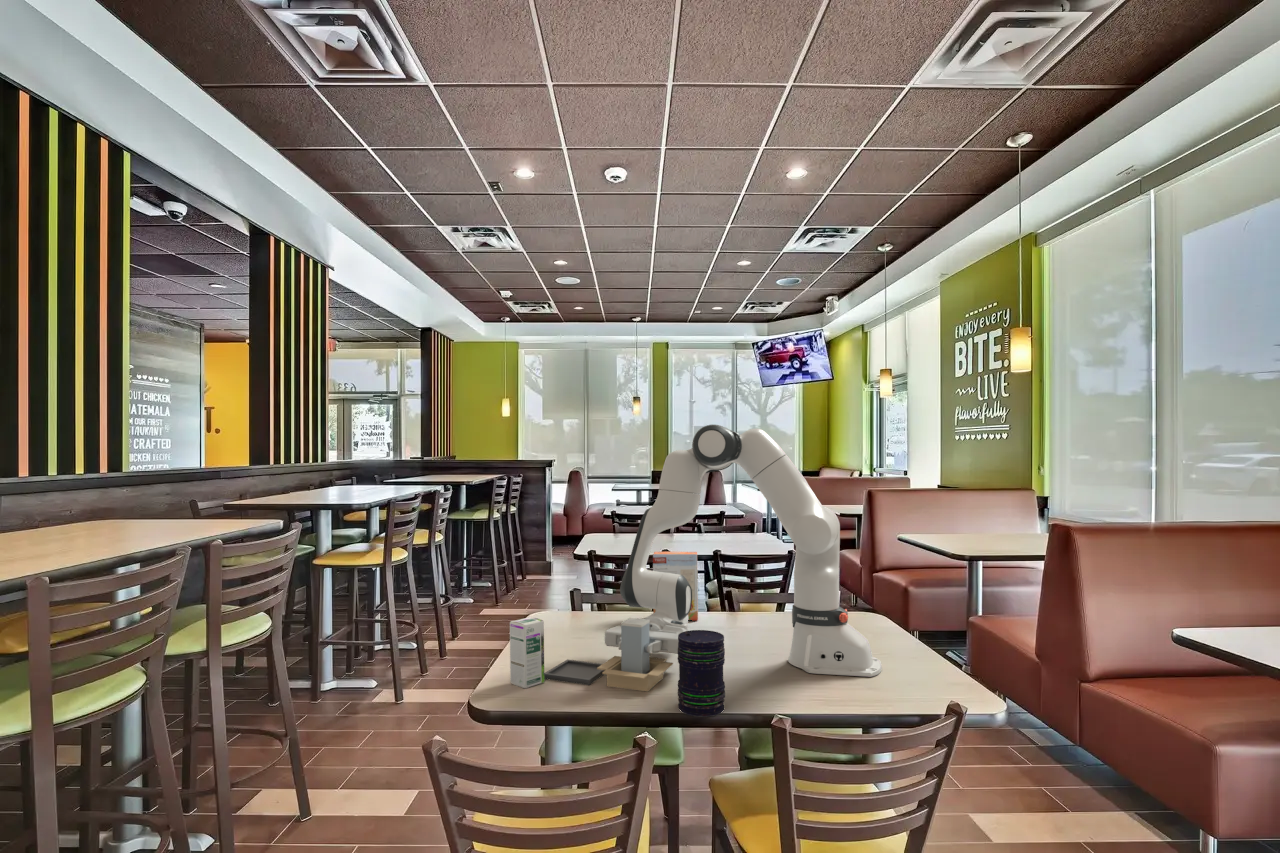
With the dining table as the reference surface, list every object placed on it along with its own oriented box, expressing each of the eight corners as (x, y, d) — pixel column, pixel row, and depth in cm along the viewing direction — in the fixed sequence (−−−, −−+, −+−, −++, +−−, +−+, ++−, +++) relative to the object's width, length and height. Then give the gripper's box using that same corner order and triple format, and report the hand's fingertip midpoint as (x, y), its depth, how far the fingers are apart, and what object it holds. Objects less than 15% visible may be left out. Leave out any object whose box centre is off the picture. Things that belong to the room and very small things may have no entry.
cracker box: (698, 616, 228) (697, 551, 228) (697, 621, 222) (697, 553, 222) (654, 615, 229) (654, 550, 229) (652, 620, 223) (652, 553, 223)
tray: (610, 669, 174) (610, 664, 174) (589, 685, 163) (589, 679, 163) (567, 664, 179) (567, 659, 179) (543, 678, 168) (543, 673, 168)
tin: (649, 679, 167) (649, 619, 167) (641, 686, 162) (641, 624, 163) (629, 677, 169) (629, 617, 169) (621, 683, 164) (621, 622, 164)
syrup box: (525, 689, 161) (525, 624, 161) (509, 683, 165) (509, 620, 165) (544, 683, 165) (544, 619, 165) (528, 677, 169) (528, 615, 169)
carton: (676, 675, 170) (676, 659, 170) (654, 696, 156) (654, 679, 156) (619, 668, 175) (618, 653, 175) (592, 688, 161) (592, 671, 161)
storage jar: (731, 703, 152) (730, 632, 152) (716, 720, 143) (716, 644, 143) (687, 696, 156) (686, 628, 156) (670, 712, 147) (670, 639, 147)
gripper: (617, 616, 182) (593, 630, 169) (693, 624, 174) (675, 638, 161) (617, 641, 182) (593, 656, 169) (693, 650, 174) (675, 666, 161)
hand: (634, 648), depth 165 cm, fingers closed on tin, 5 cm apart
